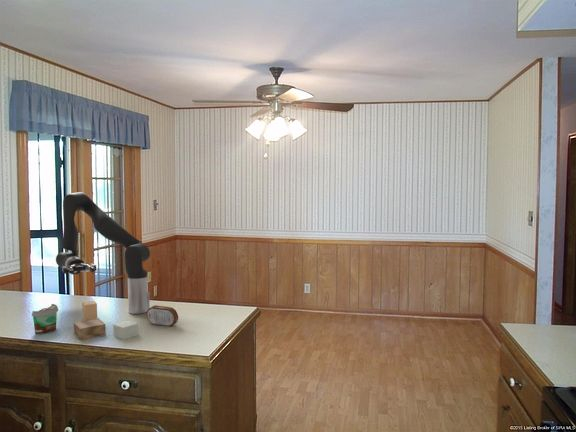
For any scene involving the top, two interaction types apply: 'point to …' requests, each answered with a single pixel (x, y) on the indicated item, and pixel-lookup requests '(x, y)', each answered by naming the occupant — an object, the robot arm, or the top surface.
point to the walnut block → (89, 329)
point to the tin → (162, 315)
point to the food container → (45, 319)
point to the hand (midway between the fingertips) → (83, 271)
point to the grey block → (125, 329)
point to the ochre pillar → (89, 310)
